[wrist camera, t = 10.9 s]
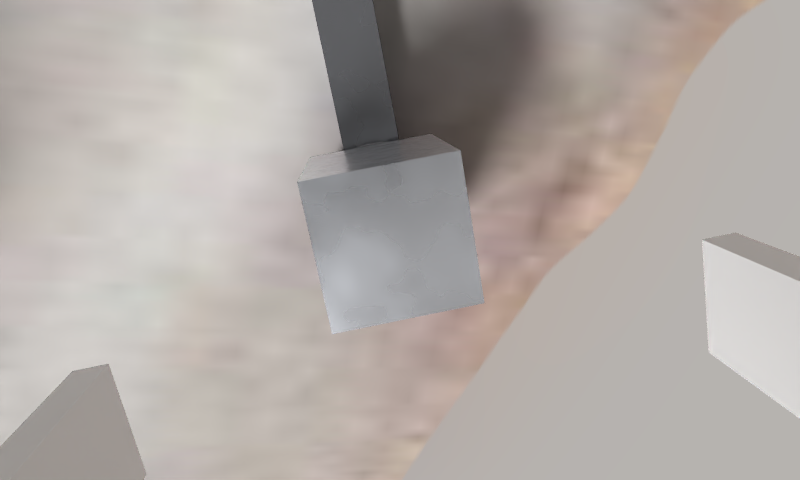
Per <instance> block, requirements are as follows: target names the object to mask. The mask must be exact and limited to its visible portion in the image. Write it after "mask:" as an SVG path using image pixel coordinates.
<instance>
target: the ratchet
mask: <svg viewBox="0 0 800 480" xmlns="http://www.w3.org/2000/svg"><path fill="white" fill-rule="evenodd" d="M312 2H313V7H314V12H315V16H316V21H317V26H318V30H319V35H320V40H321V45H322V49H323V54H324V59H325V63H326V68H327V73H328V77H329V82H330V87H331V91H332V96H333V101H334V106H335V110H336V115H337V120H338V124H339V129H340V134H341V138H342V143H343V148H344V150H349V149H354V148H360V147H365V146H370V145H375V144H380V143H385V142H391V141H396V140H399V138H398V133H397V127H396V122H395V117H394V111H393V106H392V101H391V95H390V90H389V85H388V80H387V74H386V69H385V64H384V58H383V53H382V48H381V42H380V37H379V32H378V27H377V21H376V16H375V11H374V5H373V0H312Z"/></svg>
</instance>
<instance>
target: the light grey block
mask: <svg viewBox="0 0 800 480" xmlns="http://www.w3.org/2000/svg"><path fill="white" fill-rule="evenodd" d="M297 183H298V187H299V192H300V196H301V200H302V205H303V209H304V213H305V218H306V222H307V226H308V231H309V235H310V240H311V244H312V248H313V253H314V257H315V261H316V266H317V270H318V275H319V279H320V283H321V288H322V292H323V296H324V301H325V305H326V309H327V314H328V318H329V323H330V327H331V331H332V334H335V333H340V332H345V331H350V330H355V329H360V328H365V327H369V326H374V325H379V324H384V323H389V322H394V321H399V320H404V319H409V318H414V317H419V316H423V315H428V314H433V313H438V312H443V311H448V310H453V309H458V308H463V307H468V306H472V305H477V304H482V303H484V297H483V291H482V285H481V278H480V272H479V265H478V259H477V252H476V246H475V240H474V233H473V227H472V220H471V214H470V207H469V201H468V195H467V188H466V182H465V175H464V169H463V162H462V156H461V150H459V149H457V148H456V147H454V146H452V145H450V144H449V143H447V142H445V141H443V140H441V139H440V138H438V137H436V136H434V135H432V134H427V135H422V136H417V137H411V138H406V139H401V140H396V141H391V142H385V143H380V144H375V145H370V146H365V147H360V148H354V149H349V150H344V151H339V152H334V153H328V154H323V155H318V156H313V157H310V159H309V161H308V162H307V164H306V166H305V168H304V170H303V172H302V174H301V176H300V178H299V180H298V182H297Z"/></svg>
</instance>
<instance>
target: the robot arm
mask: <svg viewBox="0 0 800 480" xmlns="http://www.w3.org/2000/svg"><path fill="white" fill-rule="evenodd" d="M702 246H703V262H704V279H705V297H706V313H707V331H708V348H709V353H710V354H712V355H714V356H715V357H716V358H718V359H719V360H720V361H722V362H723V363H724V364H726V365H727V366H728V367H730V368H731V369H732V370H734V371H735V372H737V373H738V374H739V375H741V376H742V377H743V378H745V379H746V380H747V381H749V382H751V383H752V384H753V385H755V386H756V387H757V388H758V389H760V390H761V391H763V392H764V393H765V394H767V395H768V396H769V397H771V398H772V399H774V400H775V401H776V402H778V403H779V404H780V405H782V406H783V407H784V408H786V409H788V410H789V411H790V412H791V413H793V414H794V415H796V416H797V417H798V418H800V257H799V256H796V255H793V254H791V253H788V252H786V251H783V250H780V249H778V248H775V247H772V246H769V245H767V244H764V243H761V242H759V241H756V240H754V239H751V238H748V237H745V236H743V235H740V234H738V233H732V234H727V235H723V236H717V237H713V238H708V239H703V240H702ZM145 476H146V471H145V468H144V466H143V463H142V460H141V457H140V454H139V451H138V448H137V445H136V442H135V439H134V436H133V434H132V431H131V428H130V425H129V422H128V419H127V416H126V413H125V410H124V407H123V404H122V402H121V399H120V396H119V393H118V390H117V387H116V384H115V381H114V378H113V375H112V373H111V370H110V367H109V364H105V365H100V366H95V367H91V368H86V369H81V370H76V371H72V372H71V373H70V374H69V375H68V376H67V377H66V379H65V380H64V381H63V382H62V383H61V384H60V385H59V386H58V387H57V388H56V389H55V390H54V391H53V392H52V393H51V394H50V395H49V396H48V397H47V398H46V399H45V400H44V402H43V403H42V404H41V405H40V406H39V407H38V408H37V409H36V410H35V411H34V412H33V413H32V414H31V415H30V416H29V417H28V418H27V419H26V420H25V421H24V422H23V424H22V425H21V426H20V427H19V428H18V429H17V430H16V431H15V432H14V433H13V434H12V435H11V436H10V437H9V438H8V439H7V440H6V441H5V442H4V443H3V444H2V445H1V447H0V480H144V478H145Z"/></svg>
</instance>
